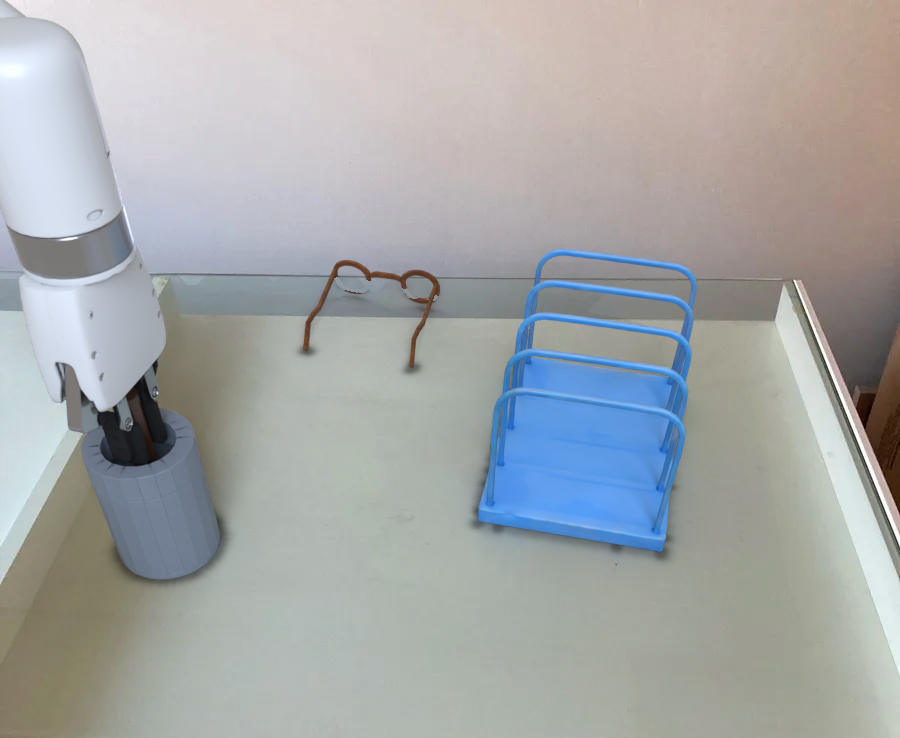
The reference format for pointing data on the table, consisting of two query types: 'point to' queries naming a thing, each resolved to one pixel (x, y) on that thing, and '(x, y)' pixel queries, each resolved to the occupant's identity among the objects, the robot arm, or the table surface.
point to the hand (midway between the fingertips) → (140, 448)
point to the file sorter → (589, 429)
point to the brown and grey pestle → (141, 422)
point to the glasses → (368, 277)
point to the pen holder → (156, 502)
